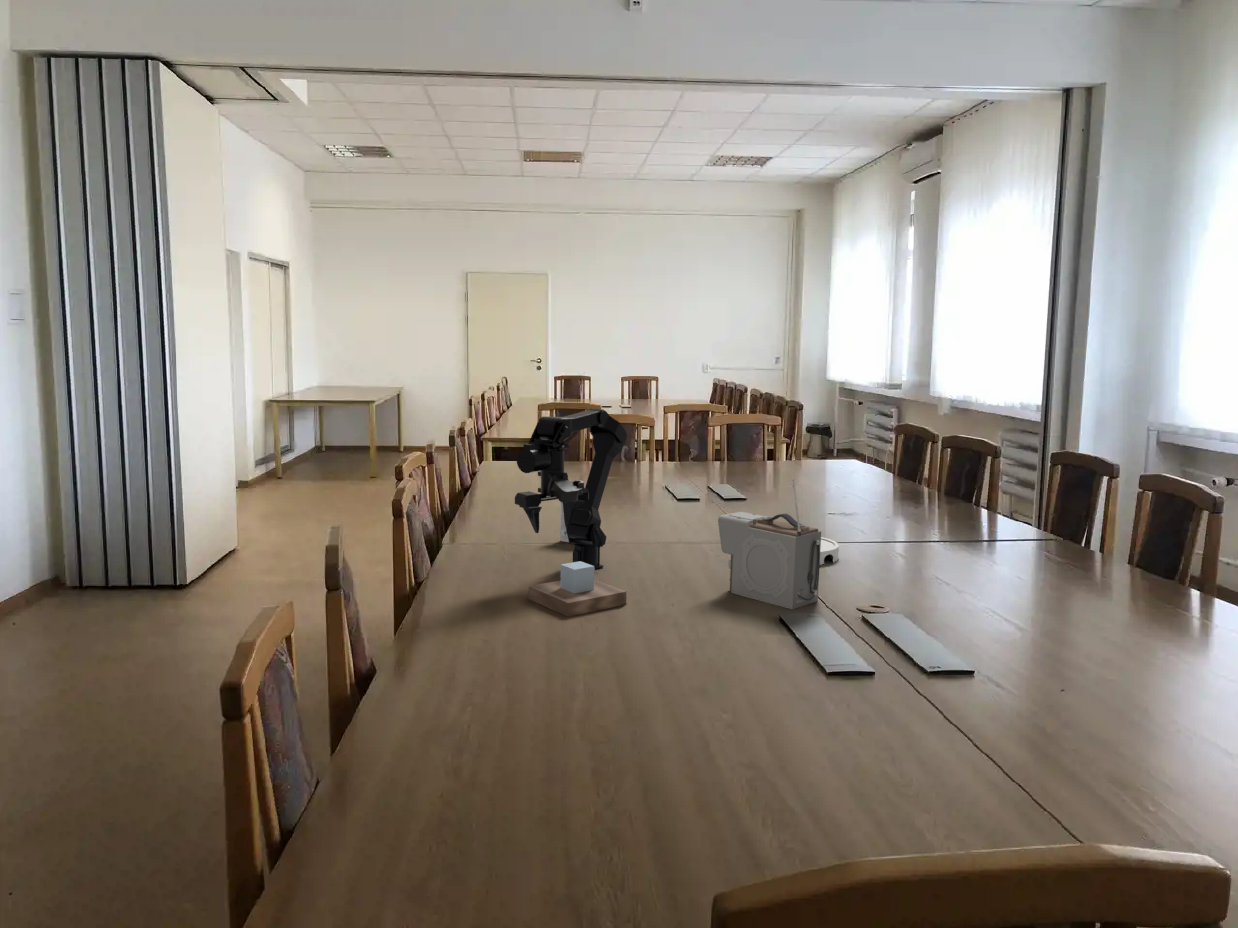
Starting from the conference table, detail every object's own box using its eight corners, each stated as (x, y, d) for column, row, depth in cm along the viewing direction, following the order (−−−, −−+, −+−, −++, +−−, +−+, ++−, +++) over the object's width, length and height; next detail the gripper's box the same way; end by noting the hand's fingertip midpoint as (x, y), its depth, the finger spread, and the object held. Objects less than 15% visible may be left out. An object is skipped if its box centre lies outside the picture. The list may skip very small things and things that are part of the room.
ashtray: (832, 548, 266) (832, 535, 266) (844, 568, 244) (844, 553, 243) (752, 545, 268) (753, 532, 268) (757, 564, 246) (757, 550, 245)
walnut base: (585, 588, 219) (585, 575, 218) (626, 604, 206) (626, 591, 206) (528, 598, 209) (528, 586, 208) (568, 616, 196) (568, 603, 196)
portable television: (741, 580, 228) (746, 462, 224) (822, 601, 211) (829, 474, 207) (710, 589, 220) (715, 467, 215) (792, 611, 203) (799, 479, 199)
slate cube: (580, 584, 211) (580, 561, 210) (594, 589, 207) (594, 566, 206) (560, 587, 208) (560, 564, 207) (574, 593, 203) (574, 569, 203)
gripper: (539, 476, 210) (539, 541, 212) (602, 469, 222) (602, 531, 224) (513, 469, 219) (513, 533, 221) (575, 463, 230) (575, 523, 233)
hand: (552, 530), depth 224 cm, fingers open, 9 cm apart
